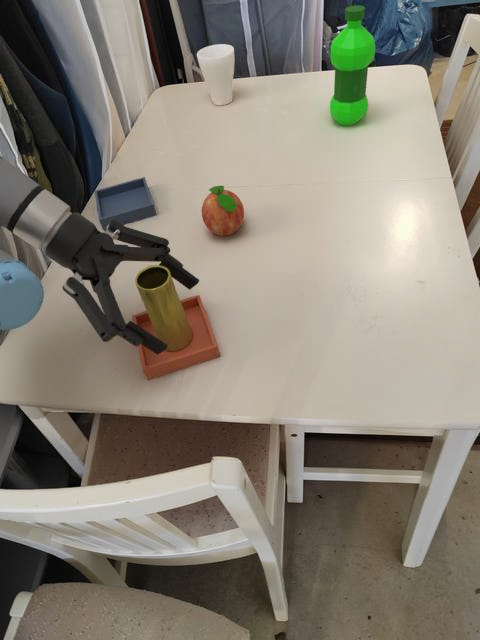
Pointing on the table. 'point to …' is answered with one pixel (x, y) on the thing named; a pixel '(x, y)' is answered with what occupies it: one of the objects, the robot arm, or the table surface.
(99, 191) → the slate tray
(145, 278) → the vase
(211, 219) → the fruit
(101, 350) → the table surface
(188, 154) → the table surface
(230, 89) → the cup
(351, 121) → the plastic bottle
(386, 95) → the table surface
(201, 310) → the terracotta tray
